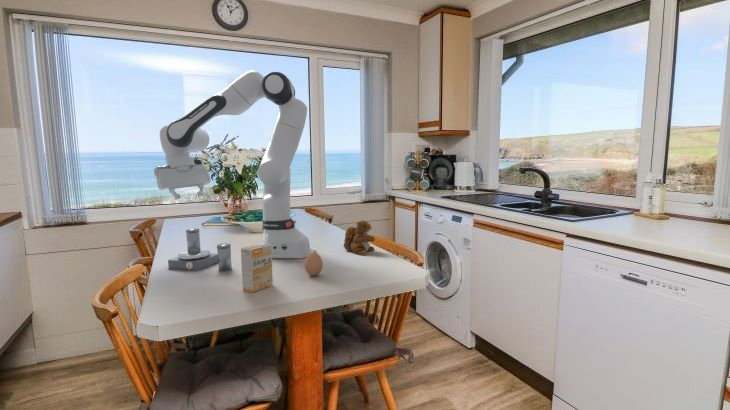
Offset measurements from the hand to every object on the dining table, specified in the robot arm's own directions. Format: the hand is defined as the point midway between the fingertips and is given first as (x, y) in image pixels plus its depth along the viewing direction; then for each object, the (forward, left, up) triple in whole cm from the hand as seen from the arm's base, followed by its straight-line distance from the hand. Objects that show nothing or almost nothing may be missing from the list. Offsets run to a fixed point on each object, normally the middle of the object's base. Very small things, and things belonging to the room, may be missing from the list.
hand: (189, 197), depth 152 cm
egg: (-58, +11, -24) cm, 64 cm away
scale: (-9, +10, -24) cm, 27 cm away
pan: (-9, +10, -21) cm, 24 cm away
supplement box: (-46, +26, -24) cm, 58 cm away
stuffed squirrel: (-62, -23, -24) cm, 71 cm away
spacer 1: (-9, +10, -20) cm, 24 cm away
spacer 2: (-24, +12, -24) cm, 36 cm away
